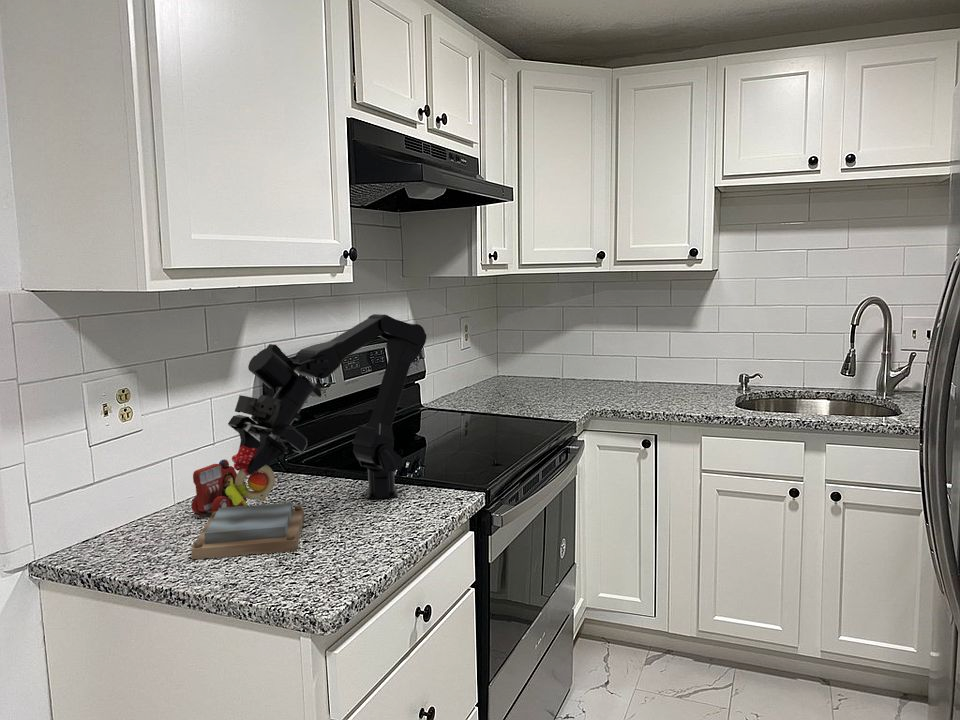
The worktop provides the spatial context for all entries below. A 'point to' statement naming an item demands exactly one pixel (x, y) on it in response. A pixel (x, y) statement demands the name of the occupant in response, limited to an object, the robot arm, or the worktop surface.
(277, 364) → the robot arm
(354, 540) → the worktop surface
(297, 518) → the wooden toy tray
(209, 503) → the toy fire truck
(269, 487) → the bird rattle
